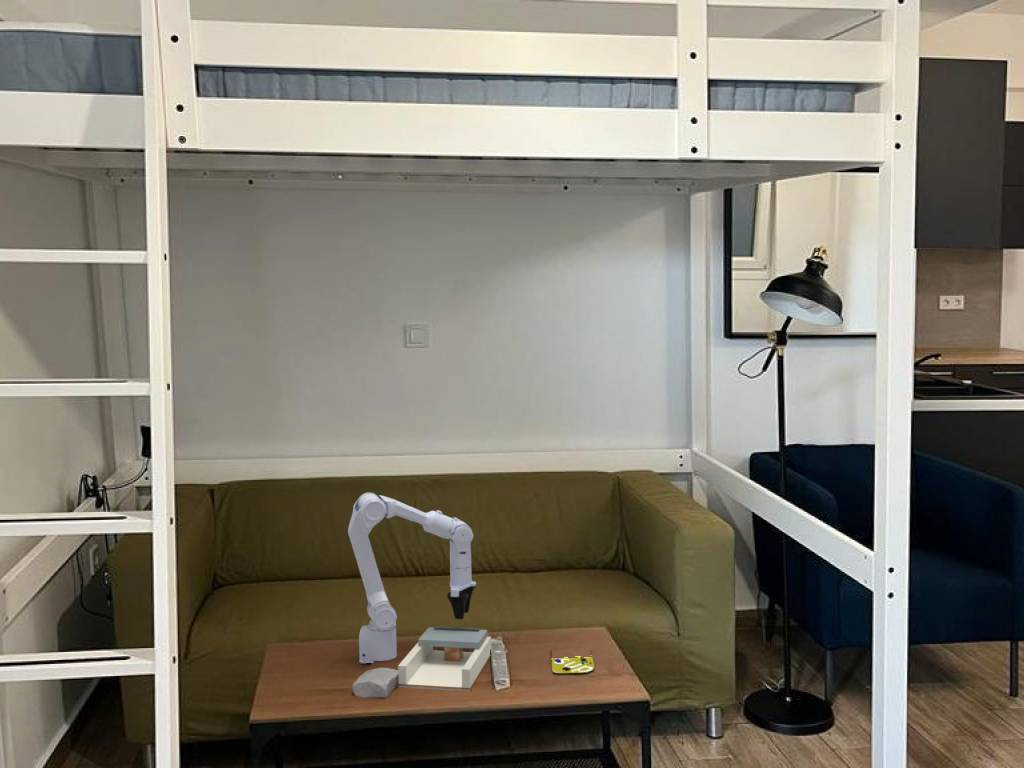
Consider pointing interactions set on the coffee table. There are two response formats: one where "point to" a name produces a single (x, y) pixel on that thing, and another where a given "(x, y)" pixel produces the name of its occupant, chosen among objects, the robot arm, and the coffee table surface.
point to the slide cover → (453, 637)
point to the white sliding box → (442, 668)
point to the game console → (572, 665)
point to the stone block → (376, 683)
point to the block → (453, 654)
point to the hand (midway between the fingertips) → (461, 615)
